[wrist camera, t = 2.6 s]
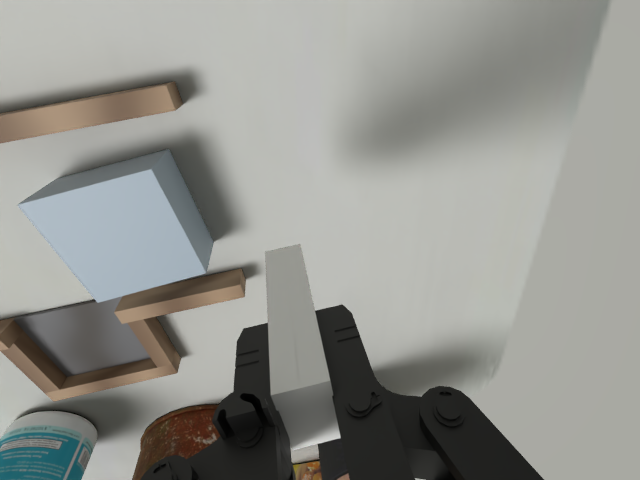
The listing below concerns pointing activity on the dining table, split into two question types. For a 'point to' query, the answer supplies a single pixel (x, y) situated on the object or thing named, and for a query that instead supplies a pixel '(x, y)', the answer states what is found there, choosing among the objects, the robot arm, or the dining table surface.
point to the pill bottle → (47, 447)
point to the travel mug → (333, 460)
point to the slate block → (123, 225)
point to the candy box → (308, 471)
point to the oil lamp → (177, 436)
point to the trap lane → (115, 314)
